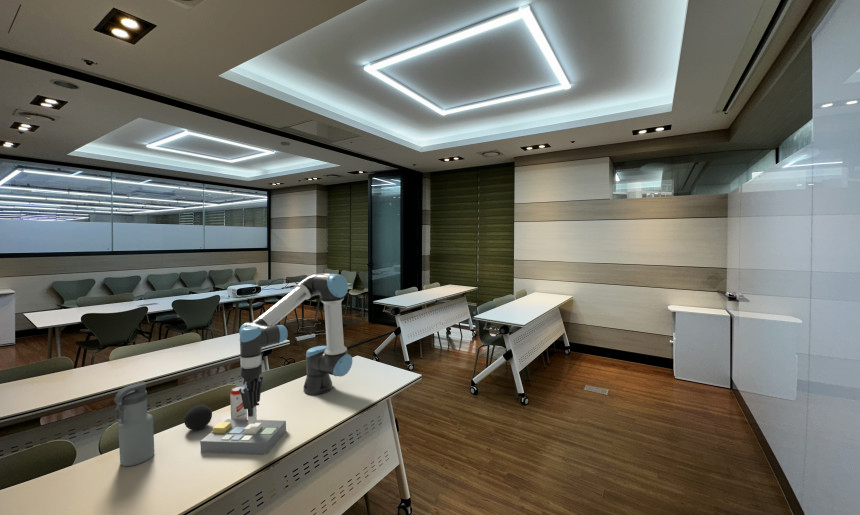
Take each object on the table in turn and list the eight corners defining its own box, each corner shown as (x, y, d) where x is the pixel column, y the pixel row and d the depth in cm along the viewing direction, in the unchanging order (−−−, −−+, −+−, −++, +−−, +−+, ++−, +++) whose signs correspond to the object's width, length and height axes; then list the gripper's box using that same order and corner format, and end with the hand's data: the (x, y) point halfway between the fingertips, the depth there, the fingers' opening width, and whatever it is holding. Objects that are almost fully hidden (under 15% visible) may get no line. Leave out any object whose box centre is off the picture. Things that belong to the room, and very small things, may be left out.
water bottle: (124, 471, 120) (120, 394, 118) (114, 462, 125) (110, 387, 123) (159, 456, 128) (155, 383, 127) (148, 447, 133) (145, 378, 132)
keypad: (227, 429, 146) (227, 418, 146) (286, 430, 145) (285, 420, 145) (200, 452, 130) (200, 440, 130) (266, 454, 129) (265, 442, 129)
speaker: (203, 420, 154) (203, 398, 153) (217, 425, 149) (216, 403, 149) (179, 431, 145) (178, 408, 144) (193, 437, 140) (192, 414, 140)
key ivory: (250, 428, 140) (250, 422, 140) (261, 428, 139) (261, 422, 139) (244, 434, 135) (244, 428, 135) (255, 434, 135) (255, 429, 135)
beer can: (250, 420, 153) (249, 386, 152) (238, 428, 147) (237, 392, 146) (239, 418, 155) (238, 384, 154) (227, 425, 149) (226, 390, 148)
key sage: (266, 433, 139) (266, 427, 139) (277, 433, 139) (277, 427, 139) (260, 439, 135) (260, 433, 135) (271, 439, 135) (271, 434, 135)
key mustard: (220, 427, 140) (220, 421, 140) (231, 427, 140) (231, 422, 140) (213, 433, 136) (212, 427, 136) (224, 434, 136) (223, 428, 135)
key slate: (235, 432, 140) (235, 426, 140) (246, 432, 140) (246, 426, 140) (228, 438, 136) (228, 432, 135) (239, 439, 135) (239, 433, 135)
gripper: (251, 359, 143) (252, 414, 144) (231, 371, 130) (233, 431, 131) (268, 360, 142) (269, 414, 143) (250, 371, 129) (252, 431, 130)
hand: (252, 422), depth 137 cm, fingers closed
